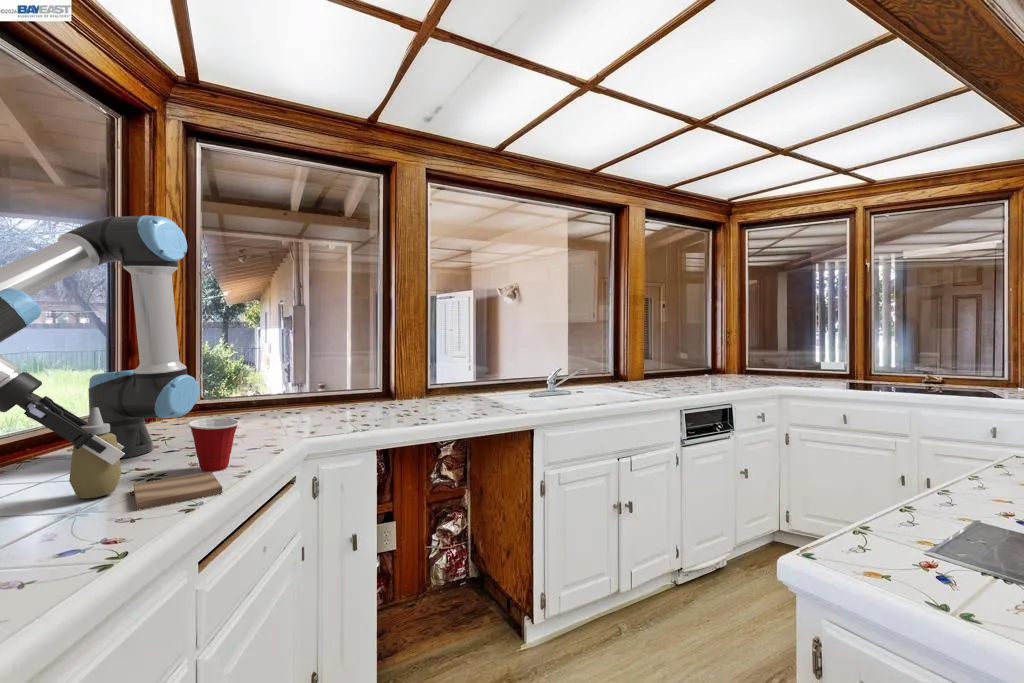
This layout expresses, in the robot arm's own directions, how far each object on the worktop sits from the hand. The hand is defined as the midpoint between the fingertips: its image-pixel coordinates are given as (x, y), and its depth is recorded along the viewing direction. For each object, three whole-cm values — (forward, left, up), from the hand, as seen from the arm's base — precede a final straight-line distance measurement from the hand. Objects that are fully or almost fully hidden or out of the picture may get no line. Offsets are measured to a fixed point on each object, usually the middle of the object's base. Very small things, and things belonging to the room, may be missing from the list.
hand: (118, 455), depth 97 cm
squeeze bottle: (0, -4, -8) cm, 8 cm away
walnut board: (+8, +9, -8) cm, 15 cm away
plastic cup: (-7, +18, -8) cm, 21 cm away
